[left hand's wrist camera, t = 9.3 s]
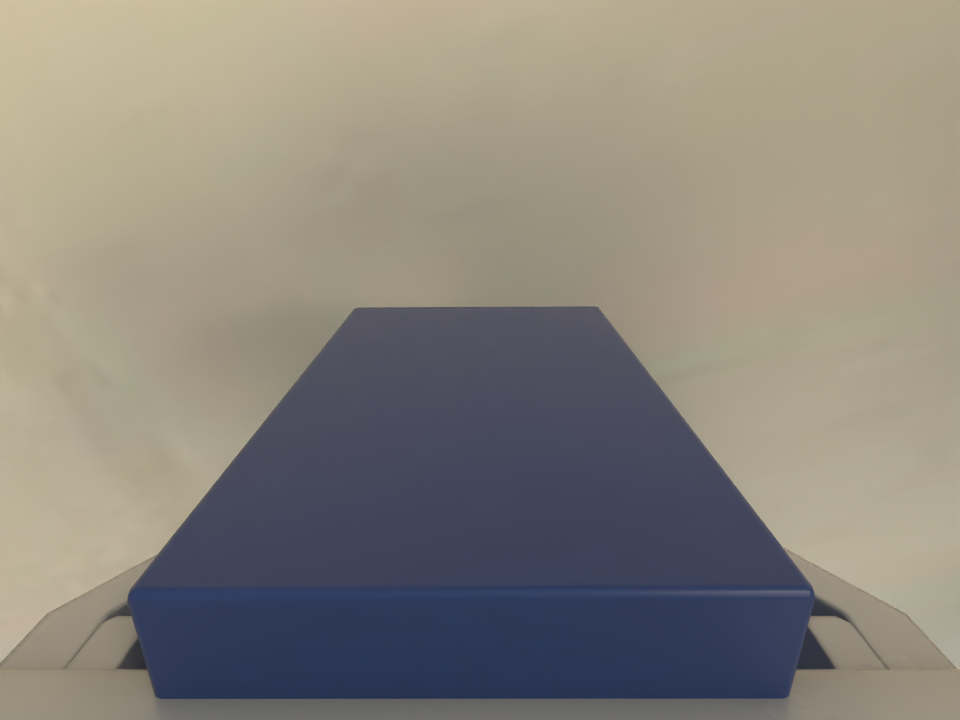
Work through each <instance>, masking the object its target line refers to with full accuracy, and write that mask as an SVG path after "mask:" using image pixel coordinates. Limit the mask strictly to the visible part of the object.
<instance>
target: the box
mask: <svg viewBox="0 0 960 720" xmlns="http://www.w3.org/2000/svg"><path fill="white" fill-rule="evenodd" d="M814 601H815V595H814V590H813V587H812V585H811V584H810V583H809V581H808V580H807V579H806V577H805V576H804V575H803V574H802V572H801V571H800V570H799V568H798V567H797V566H796V564H795V563H794V562H793V561H792V559H791V558H790V557H789V555H788V554H787V553H786V551H785V550H784V549H783V548H782V546H781V545H780V544H779V542H778V541H777V540H776V538H775V537H774V536H773V534H772V533H771V532H770V531H769V529H768V528H767V527H766V525H765V524H764V523H763V521H762V520H761V519H760V518H759V516H758V515H757V514H756V512H755V511H754V510H753V508H752V507H751V506H750V505H749V503H748V502H747V501H746V499H745V498H744V497H743V495H742V494H741V493H740V491H739V490H738V489H737V488H736V486H735V485H734V484H733V482H732V481H731V480H730V478H729V477H728V476H727V475H726V473H725V472H724V471H723V469H722V468H721V467H720V465H719V464H718V463H717V462H716V460H715V459H714V458H713V456H712V455H711V454H710V452H709V451H708V450H707V448H706V447H705V446H704V445H703V443H702V442H701V441H700V439H699V438H698V437H697V435H696V434H695V433H694V432H693V430H692V429H691V428H690V426H689V425H688V424H687V422H686V421H685V420H684V419H683V417H682V416H681V415H680V413H679V412H678V411H677V409H676V408H675V407H674V406H673V404H672V403H671V402H670V400H669V399H668V398H667V396H666V395H665V394H664V392H663V391H662V390H661V389H660V387H659V386H658V385H657V383H656V382H655V381H654V379H653V378H652V377H651V376H650V374H649V373H648V372H647V370H646V369H645V368H644V366H643V365H642V364H641V363H640V361H639V360H638V359H637V357H636V356H635V355H634V353H633V352H632V351H631V349H630V348H629V347H628V346H627V344H626V343H625V342H624V340H623V339H622V338H621V336H620V335H619V334H618V333H617V331H616V330H615V329H614V327H613V326H612V325H611V323H610V322H609V321H608V320H607V318H606V317H605V316H604V314H603V313H602V312H601V310H600V309H599V308H598V307H406V308H356V309H354V310H353V312H352V313H351V314H350V315H349V317H348V318H347V319H346V320H345V322H344V323H343V324H342V325H341V327H340V328H339V329H338V330H337V332H336V333H335V334H334V335H333V337H332V338H331V339H330V340H329V342H328V343H327V344H326V345H325V347H324V348H323V349H322V350H321V352H320V353H319V354H318V355H317V357H316V358H315V359H314V360H313V362H312V363H311V364H310V365H309V367H308V368H307V369H306V370H305V372H304V373H303V374H302V375H301V377H300V378H299V379H298V380H297V382H296V383H295V384H294V385H293V387H292V388H291V389H290V390H289V392H288V393H287V394H286V395H285V397H284V398H283V399H282V400H281V402H280V403H279V404H278V405H277V406H276V408H275V409H274V410H273V411H272V413H271V414H270V415H269V416H268V418H267V419H266V420H265V421H264V423H263V424H262V425H261V426H260V428H259V429H258V430H257V431H256V433H255V434H254V435H253V436H252V438H251V439H250V440H249V441H248V443H247V444H246V445H245V446H244V448H243V449H242V450H241V451H240V453H239V454H238V455H237V456H236V458H235V459H234V460H233V461H232V463H231V464H230V465H229V466H228V468H227V469H226V470H225V471H224V473H223V474H222V475H221V476H220V478H219V479H218V480H217V481H216V483H215V484H214V485H213V486H212V488H211V489H210V490H209V491H208V493H207V494H206V495H205V496H204V498H203V499H202V500H201V501H200V503H199V504H198V505H197V506H196V508H195V509H194V510H193V511H192V513H191V514H190V515H189V516H188V518H187V519H186V520H185V521H184V523H183V524H182V525H181V526H180V528H179V529H178V530H177V531H176V533H175V534H174V535H173V536H172V538H171V539H170V540H169V541H168V543H167V544H166V545H165V546H164V548H163V549H162V550H161V551H160V552H159V554H158V555H157V556H156V557H155V559H154V560H153V561H152V562H151V564H150V565H149V566H148V567H147V569H146V570H145V571H144V572H143V574H142V575H141V576H140V577H139V579H138V580H137V581H136V582H135V584H134V585H133V586H132V587H131V589H130V591H129V594H128V599H127V602H128V606H129V609H130V612H131V616H132V619H133V623H134V626H135V629H136V633H137V636H138V640H139V643H140V646H141V650H142V653H143V657H144V660H145V663H146V667H147V670H148V673H149V677H150V680H151V684H152V687H153V690H154V694H155V697H158V698H160V699H783V698H786V697H788V696H789V694H790V690H791V687H792V683H793V679H794V675H795V672H796V668H797V664H798V660H799V657H800V653H801V649H802V645H803V642H804V638H805V634H806V631H807V627H808V623H809V619H810V616H811V612H812V608H813V604H814Z"/></svg>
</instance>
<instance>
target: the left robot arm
mask: <svg viewBox="0 0 960 720" xmlns="http://www.w3.org/2000/svg"><path fill="white" fill-rule="evenodd" d="M782 548H783V547H782ZM783 549H784V550H785V551H786V553H787V554H788V555H789V557H790V558H791V559H792V561H793V562H794V563H795V564H796V566H797V567H798V568H799V570H800V571H801V572H802V574H803V575H804V576H805V577H806V579H807V580H808V581H809V583H810V584H811V585H812V587H813V590H814V595H815V601H814V604H813V608H812V612H811V616H810V619H809V623H808V627H807V631H806V634H805V638H804V642H803V645H802V649H801V653H800V657H799V660H798V664H797V668H796V672H795V675H794V679H793V683H792V687H791V690H790V694H789V696H788V697H786V698H783V699H160V698H158V697H155V694H154V690H153V687H152V684H151V680H150V677H149V673H148V670H147V667H146V663H145V660H144V657H143V653H142V650H141V646H140V643H139V640H138V636H137V633H136V629H135V626H134V623H133V619H132V616H131V612H130V609H129V606H128V602H127V599H128V594H129V591H130V589H131V587H132V586H133V585H134V584H135V582H136V581H137V580H138V579H139V577H140V576H141V575H142V574H143V572H144V571H145V570H146V569H147V567H148V566H149V565H150V564H151V562H152V561H153V560H154V559H155V557H156V556H157V555H158V554H157V555H156V556H154V557H152V558H150V559H148V560H146V561H144V562H143V563H141V564H139V565H137V566H135V567H133V568H131V569H129V570H128V571H126V572H124V573H122V574H120V575H118V576H116V577H115V578H113V579H111V580H109V581H107V582H105V583H103V584H101V585H100V586H98V587H96V588H94V589H92V590H90V591H88V592H87V593H85V594H83V595H81V596H79V597H77V598H75V599H74V600H72V601H70V602H68V603H66V604H64V605H62V606H60V607H59V608H57V609H55V610H53V611H51V612H49V613H47V614H46V615H45V616H44V617H43V619H42V620H41V621H40V622H39V623H38V624H37V625H36V626H35V627H34V628H33V629H32V630H31V631H30V632H29V633H28V634H27V635H26V637H25V638H24V639H23V640H22V641H21V642H20V643H19V644H18V645H17V646H16V647H15V648H14V649H13V650H12V651H11V652H10V654H9V655H8V656H7V657H6V658H5V659H4V660H3V661H2V662H1V663H0V720H960V669H957V668H956V667H955V666H954V665H953V664H952V663H951V662H950V661H949V660H948V659H947V658H946V657H945V655H944V654H943V653H942V652H941V651H940V650H939V649H938V648H937V647H936V646H935V645H934V643H933V642H932V641H931V640H930V639H929V638H928V637H927V636H926V635H925V634H924V633H923V632H922V630H921V629H920V628H919V627H918V626H917V625H916V624H915V623H914V622H913V621H912V620H911V619H910V617H909V616H908V615H907V614H905V613H903V612H901V611H899V610H898V609H896V608H894V607H892V606H890V605H888V604H887V603H885V602H883V601H881V600H879V599H877V598H875V597H874V596H872V595H870V594H868V593H866V592H864V591H863V590H861V589H859V588H857V587H855V586H853V585H852V584H850V583H848V582H846V581H844V580H842V579H840V578H839V577H837V576H835V575H833V574H831V573H829V572H828V571H826V570H824V569H822V568H820V567H818V566H817V565H815V564H813V563H811V562H809V561H807V560H805V559H804V558H802V557H800V556H798V555H796V554H794V553H793V552H791V551H789V550H787V549H785V548H783Z"/></svg>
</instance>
